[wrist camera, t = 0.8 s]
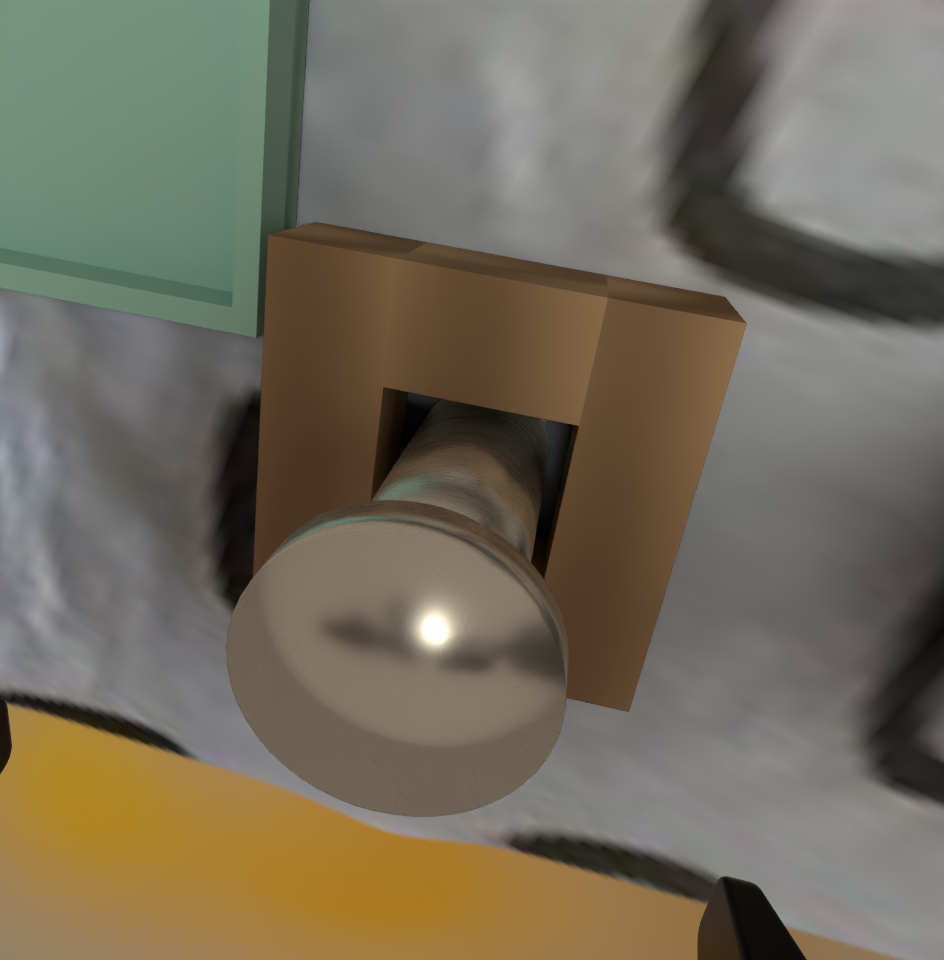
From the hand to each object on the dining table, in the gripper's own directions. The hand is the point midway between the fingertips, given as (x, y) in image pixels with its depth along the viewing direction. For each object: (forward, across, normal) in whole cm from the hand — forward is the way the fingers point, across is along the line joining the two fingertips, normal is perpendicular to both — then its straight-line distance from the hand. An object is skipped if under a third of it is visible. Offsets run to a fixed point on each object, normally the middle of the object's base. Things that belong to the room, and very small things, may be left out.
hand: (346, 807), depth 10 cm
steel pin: (+12, 0, 0) cm, 12 cm away
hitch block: (+12, 0, 0) cm, 12 cm away
